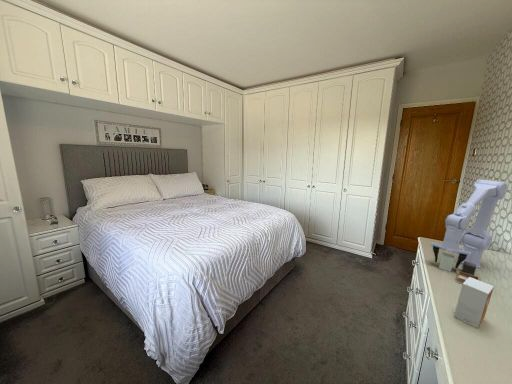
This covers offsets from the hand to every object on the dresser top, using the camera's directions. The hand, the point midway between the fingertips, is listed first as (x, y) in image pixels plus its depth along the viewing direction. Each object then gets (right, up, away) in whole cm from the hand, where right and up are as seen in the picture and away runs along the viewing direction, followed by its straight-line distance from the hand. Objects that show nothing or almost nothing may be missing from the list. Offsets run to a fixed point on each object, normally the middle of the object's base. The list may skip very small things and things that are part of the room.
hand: (445, 264), depth 106 cm
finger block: (0, -2, 0) cm, 2 cm away
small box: (-21, -8, -32) cm, 39 cm away
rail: (+3, -4, -8) cm, 9 cm away
